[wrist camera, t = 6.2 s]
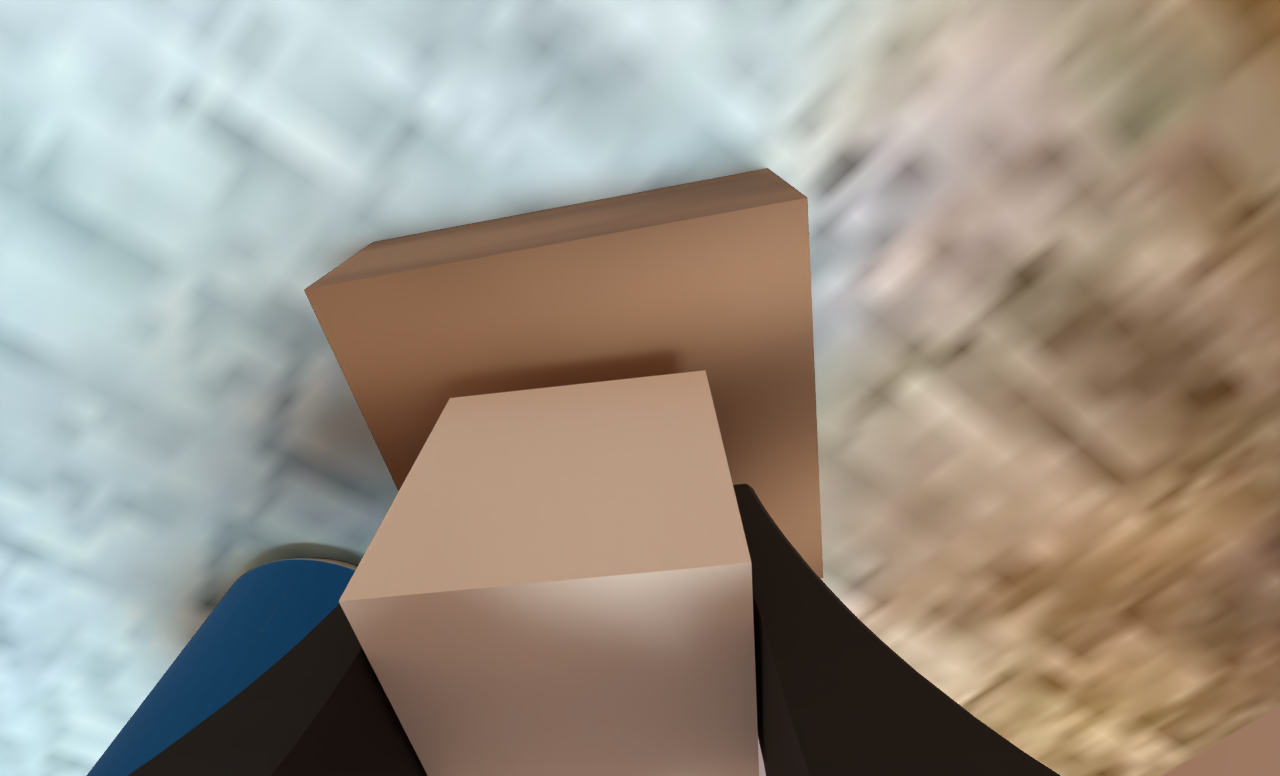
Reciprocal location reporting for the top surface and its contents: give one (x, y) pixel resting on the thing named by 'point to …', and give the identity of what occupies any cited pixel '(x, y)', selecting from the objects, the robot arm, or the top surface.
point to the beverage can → (229, 653)
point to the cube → (567, 588)
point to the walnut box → (600, 321)
